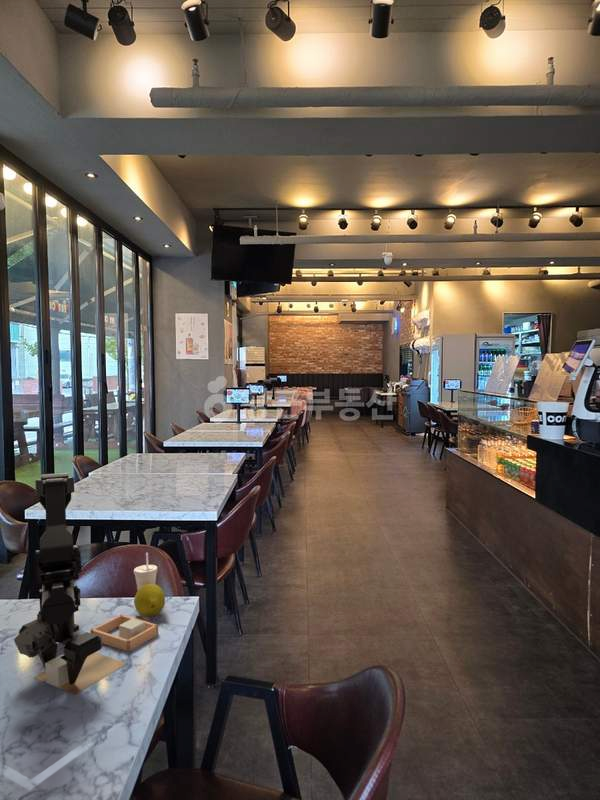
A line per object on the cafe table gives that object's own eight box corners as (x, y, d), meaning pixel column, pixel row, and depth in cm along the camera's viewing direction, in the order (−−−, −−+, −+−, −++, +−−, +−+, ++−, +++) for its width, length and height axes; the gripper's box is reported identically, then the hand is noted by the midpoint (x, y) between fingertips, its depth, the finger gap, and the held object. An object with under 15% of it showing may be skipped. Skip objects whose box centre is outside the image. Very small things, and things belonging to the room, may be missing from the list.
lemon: (136, 608, 147) (135, 579, 146) (165, 605, 148) (165, 577, 148) (132, 626, 136) (131, 595, 136) (164, 623, 138) (163, 592, 137)
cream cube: (119, 642, 127) (119, 625, 127) (132, 634, 130) (132, 618, 130) (131, 646, 125) (131, 629, 125) (144, 638, 128) (144, 622, 128)
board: (33, 681, 111) (33, 677, 111) (86, 653, 123) (86, 649, 123) (75, 699, 105) (75, 694, 105) (127, 668, 116) (126, 663, 116)
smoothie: (151, 608, 146) (149, 557, 146) (130, 606, 148) (128, 556, 147) (162, 599, 153) (161, 550, 152) (142, 597, 154) (140, 548, 154)
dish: (90, 643, 128) (90, 629, 128) (121, 626, 136) (121, 614, 136) (128, 655, 122) (127, 641, 121) (158, 638, 130) (158, 624, 130)
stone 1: (45, 682, 109) (45, 663, 109) (63, 672, 113) (62, 654, 113) (58, 687, 107) (58, 668, 107) (75, 677, 111) (75, 658, 111)
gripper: (-8, 609, 107) (-5, 686, 108) (52, 630, 98) (55, 714, 99) (43, 590, 117) (45, 660, 118) (102, 607, 108) (104, 683, 108)
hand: (60, 678), depth 110 cm, fingers open, 7 cm apart
